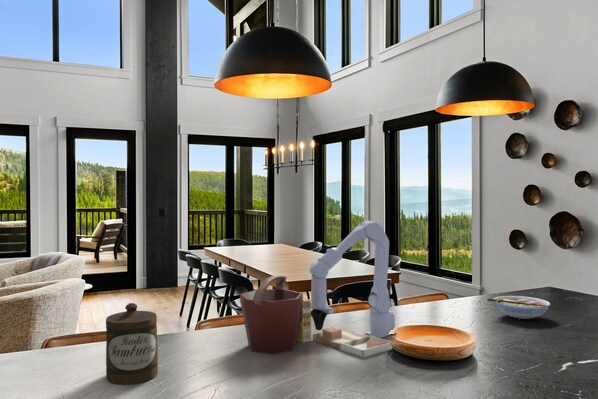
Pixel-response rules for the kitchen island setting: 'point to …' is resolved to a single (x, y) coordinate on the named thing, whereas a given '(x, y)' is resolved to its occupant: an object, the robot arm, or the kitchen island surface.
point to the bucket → (271, 316)
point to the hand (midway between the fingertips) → (319, 329)
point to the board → (342, 338)
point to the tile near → (375, 342)
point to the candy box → (304, 322)
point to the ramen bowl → (521, 306)
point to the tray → (362, 348)
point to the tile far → (332, 333)
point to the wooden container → (131, 346)
